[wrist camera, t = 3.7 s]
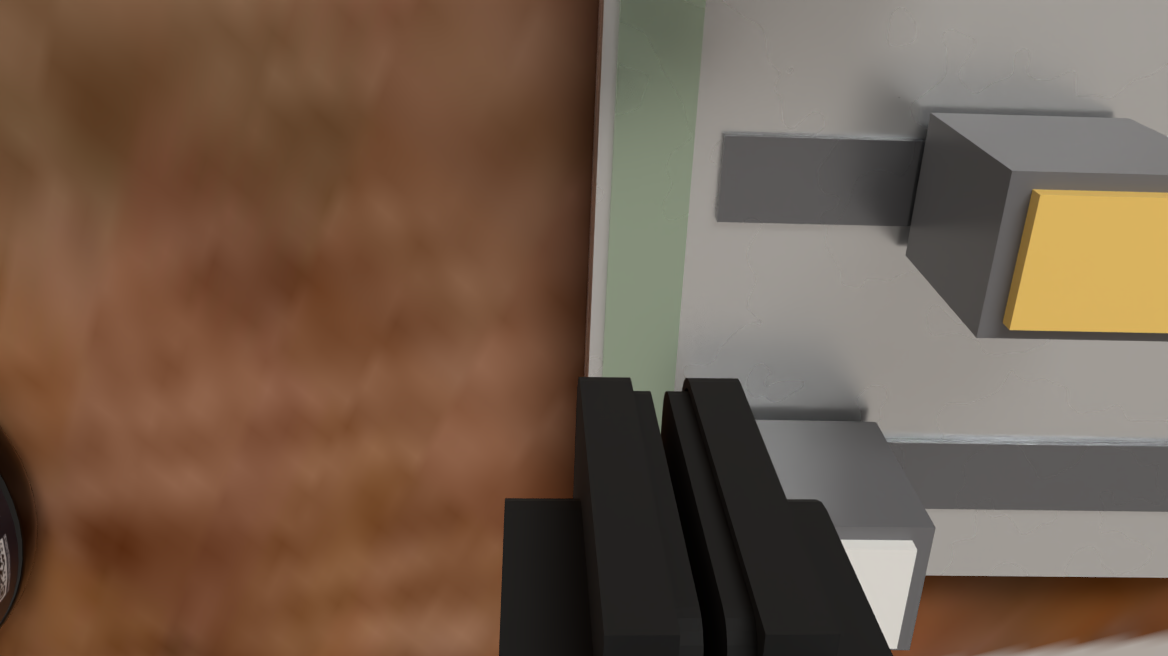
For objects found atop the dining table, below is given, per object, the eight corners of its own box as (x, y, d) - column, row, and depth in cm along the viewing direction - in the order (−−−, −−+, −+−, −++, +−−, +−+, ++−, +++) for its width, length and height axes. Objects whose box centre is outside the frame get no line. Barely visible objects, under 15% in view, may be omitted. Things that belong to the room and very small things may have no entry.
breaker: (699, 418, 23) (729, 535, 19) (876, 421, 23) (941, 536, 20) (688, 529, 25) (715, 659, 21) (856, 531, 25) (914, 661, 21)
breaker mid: (930, 112, 21) (1020, 176, 17) (1129, 118, 21) (1263, 182, 17) (905, 255, 22) (982, 345, 18) (1092, 260, 22) (1209, 349, 18)
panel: (615, -398, 19) (622, -426, 17) (1524, -354, 19) (1634, -375, 17) (578, 523, 27) (580, 577, 25) (1213, 530, 28) (1264, 583, 26)
